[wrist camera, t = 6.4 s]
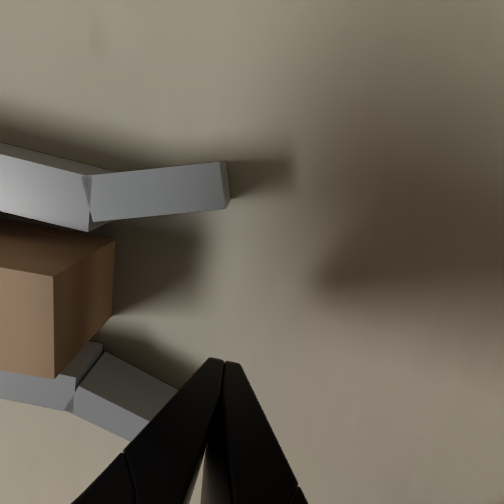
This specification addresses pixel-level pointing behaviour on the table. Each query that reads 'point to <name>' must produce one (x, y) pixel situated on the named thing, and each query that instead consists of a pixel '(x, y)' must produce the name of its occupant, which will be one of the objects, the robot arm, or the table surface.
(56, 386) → the guide
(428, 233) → the table surface
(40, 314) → the batten
